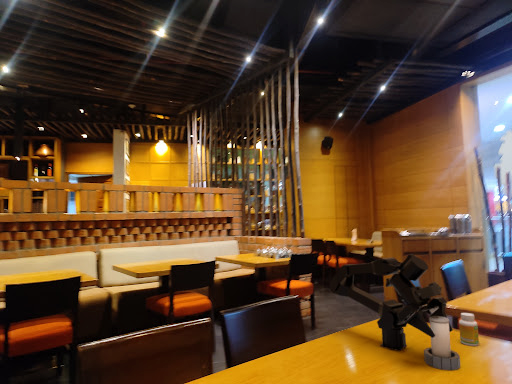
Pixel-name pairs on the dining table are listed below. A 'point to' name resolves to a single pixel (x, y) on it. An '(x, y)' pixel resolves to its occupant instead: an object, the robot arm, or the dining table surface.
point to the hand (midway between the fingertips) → (442, 333)
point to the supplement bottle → (468, 330)
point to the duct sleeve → (440, 336)
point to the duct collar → (442, 360)
